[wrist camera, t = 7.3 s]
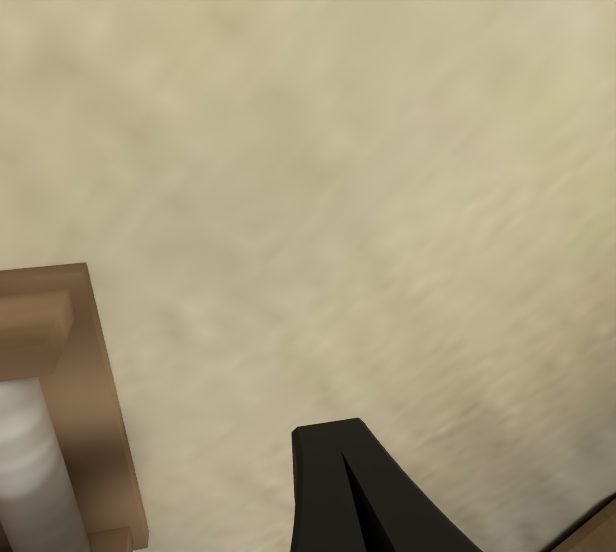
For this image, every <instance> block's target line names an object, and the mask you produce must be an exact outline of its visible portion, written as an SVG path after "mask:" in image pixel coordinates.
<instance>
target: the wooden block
mask: <svg viewBox="0 0 616 552" xmlns="http://www.w3.org/2000/svg"><path fill="white" fill-rule="evenodd" d="M551 552H616V498H615V499H614V500H613V501H612V502H610V503H609V504H608V505H607V506H606V507H604V508H603V509H602V510H601V511H600V512H598V513H597V514H596V515H595V516H593V517H592V518H591V519H590V520H589V521H587V522H586V523H585V524H584V525H583V526H581V527H580V528H579V529H578V530H576V531H575V532H574V533H573V534H572V535H570V536H569V537H568V538H567V539H566V540H564V541H563V542H562V543H561V544H559V545H558V546H557V547H556V548H555V549H553V550H552V551H551Z"/></svg>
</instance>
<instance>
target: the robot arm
mask: <svg viewBox="0 0 616 552" xmlns="http://www.w3.org/2000/svg"><path fill="white" fill-rule="evenodd" d="M292 453H293V475H294V497H295V516H294V527H293V536H292V543H291V550H290V552H483V551H482V550H480V549H479V548H478V547H477V546H476V545H475V544H474V543H473V542H472V541H471V540H470V539H469V538H468V537H467V536H466V535H465V534H464V533H462V532H461V531H460V530H459V529H458V528H457V527H456V526H455V525H454V524H453V523H452V522H451V521H450V520H449V519H448V518H447V517H446V516H445V515H444V514H443V513H442V512H441V511H440V510H439V509H438V508H437V507H436V506H435V505H434V504H433V502H432V501H431V500H430V499H429V498H428V497H427V496H426V495H425V494H424V493H423V492H422V491H421V490H420V489H419V487H418V486H417V485H416V484H415V483H414V482H413V481H412V480H411V479H410V478H409V477H408V475H407V474H406V473H405V472H404V471H403V470H402V469H401V467H400V466H399V465H398V464H397V463H396V462H395V460H394V459H393V458H392V457H391V456H390V455H389V453H388V452H387V451H386V450H385V449H384V447H383V446H382V445H381V444H380V442H379V441H378V440H377V439H376V437H375V436H374V435H373V434H372V432H371V431H370V430H369V428H368V427H367V426H366V424H365V423H364V422H363V421H362V420H361V419H359V418H353V419H346V420H340V421H333V422H327V423H320V424H313V425H307V426H300V427H297V428H296V429H295V430H294V431H293V432H292Z"/></svg>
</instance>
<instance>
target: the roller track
mask: <svg viewBox="0 0 616 552" xmlns="http://www.w3.org/2000/svg"><path fill="white" fill-rule="evenodd" d="M148 537H149V530H148V526H147V521H146V517H145V513H144V508H143V504H142V500H141V495H140V491H139V487H138V483H137V478H136V474H135V470H134V465H133V461H132V457H131V453H130V448H129V444H128V440H127V435H126V431H125V427H124V423H123V418H122V414H121V410H120V405H119V401H118V397H117V392H116V388H115V384H114V380H113V375H112V371H111V367H110V362H109V358H108V354H107V350H106V345H105V341H104V337H103V332H102V328H101V324H100V319H99V315H98V311H97V307H96V302H95V298H94V294H93V289H92V285H91V281H90V277H89V272H88V268H87V264H86V263H76V264H66V265H55V266H45V267H35V268H24V269H14V270H3V271H0V552H133V550H138V549H143V548H148Z"/></svg>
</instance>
